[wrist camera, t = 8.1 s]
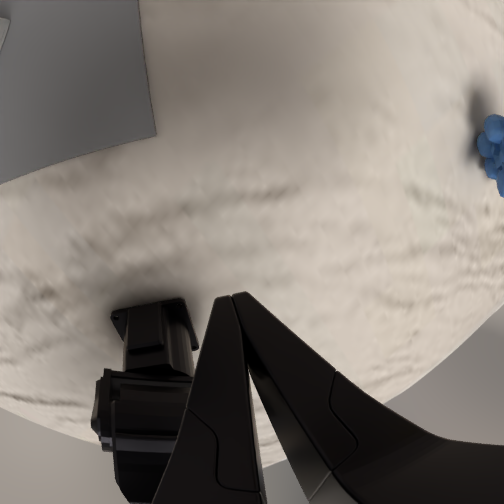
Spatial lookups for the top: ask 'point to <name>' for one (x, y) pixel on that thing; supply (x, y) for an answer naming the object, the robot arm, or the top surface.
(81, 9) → the rubber mat
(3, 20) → the skincare box
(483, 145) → the grapes
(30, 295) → the top surface
